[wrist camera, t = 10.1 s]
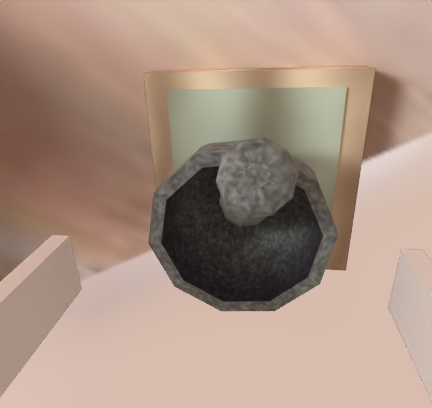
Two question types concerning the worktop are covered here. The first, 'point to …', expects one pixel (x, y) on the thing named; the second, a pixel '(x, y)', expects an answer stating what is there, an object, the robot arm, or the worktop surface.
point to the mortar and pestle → (242, 226)
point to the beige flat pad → (269, 123)
